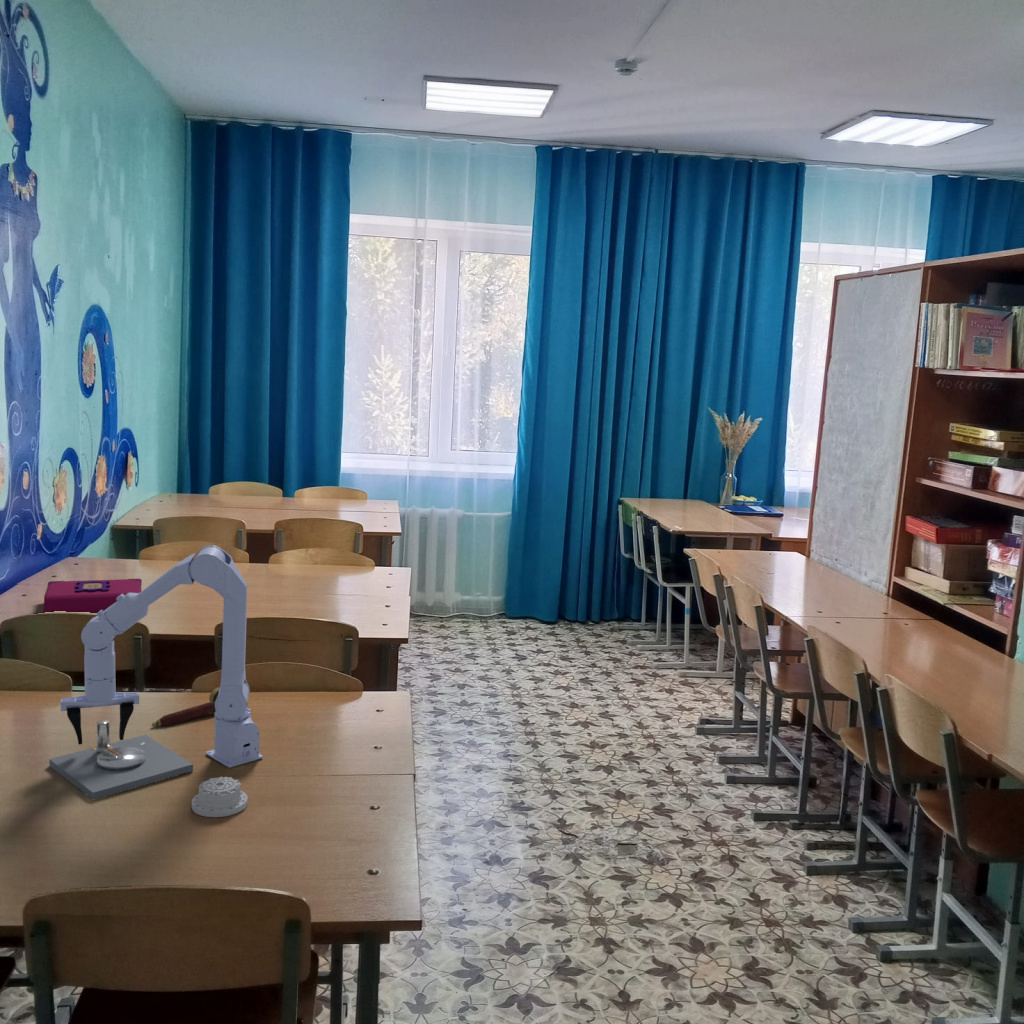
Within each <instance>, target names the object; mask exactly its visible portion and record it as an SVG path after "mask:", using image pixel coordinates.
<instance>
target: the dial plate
mask: <svg viewBox="0 0 1024 1024" xmlns="http://www.w3.org/2000/svg"><path fill="white" fill-rule="evenodd" d="M110 746H112V747H113V748H120V747H134V748H139V749H142V750H143V751H144V752H145V761H144V762H143V763H142V764H140V765H138V766H136V767H133V768H129V769H123V770H107V769H103V768H100V767H99V766H98V765H97V756H98V755H99V754H100V752H98V751H96V746H95V747H91V748H87V749H84V750H80V751H76V752H71V753H69V754H63V755H60V756H56V757H52V758H49V760H48V763H49V766H48V767H50V768H51V769H52V768H53V769H52V770H54V771H55V772H57V773H58V774H59V776H61V777H63V779H65V778H66V779H65V780H67V781H68V782H69V781H70V782H71V783H70V782H69V783H70V784H72V785H73V784H74V785H75V786H74V785H73V786H74V787H75V788H76V789H78V788H79V789H80V790H79V789H78V790H79V791H81V790H82V791H83V792H84V793H83V792H82V791H81V792H82V793H83V794H85V795H86V794H87V795H88V796H89V797H88V796H87V795H86V796H87V797H88V798H90V799H91V798H92V799H93V801H95V800H94V799H96V800H98V799H97V798H100V799H102V798H101V797H103V798H105V797H104V796H106V797H109V796H108V795H110V796H112V795H111V794H113V795H115V794H114V793H117V794H119V793H118V792H120V793H122V792H121V791H124V792H126V791H125V790H127V791H129V790H128V789H131V788H134V789H136V788H135V787H137V788H139V787H138V786H141V787H143V786H142V785H144V786H146V785H145V784H148V785H150V784H149V783H151V784H153V783H152V782H155V781H158V782H160V781H159V780H162V779H165V780H167V779H166V778H168V777H172V776H175V777H177V776H176V775H179V776H181V775H180V774H182V775H184V774H183V773H186V774H188V773H187V772H189V773H191V771H194V763H192V762H190V761H188V760H187V759H185V758H184V757H182V756H180V755H179V754H177V753H176V752H174V751H173V750H171V749H169V748H168V747H167V746H165V745H163V744H161V743H160V742H158V741H156V740H155V739H153V738H152V737H150V736H149V735H147V734H143V735H139V736H135V737H132V738H128V739H127V738H126V739H123V740H119V741H115V742H113V743H111V742H110ZM172 778H173V777H172ZM168 779H169V778H168ZM162 781H163V780H162ZM155 783H156V782H155ZM131 790H132V789H131ZM92 799H91V800H92Z"/></svg>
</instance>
